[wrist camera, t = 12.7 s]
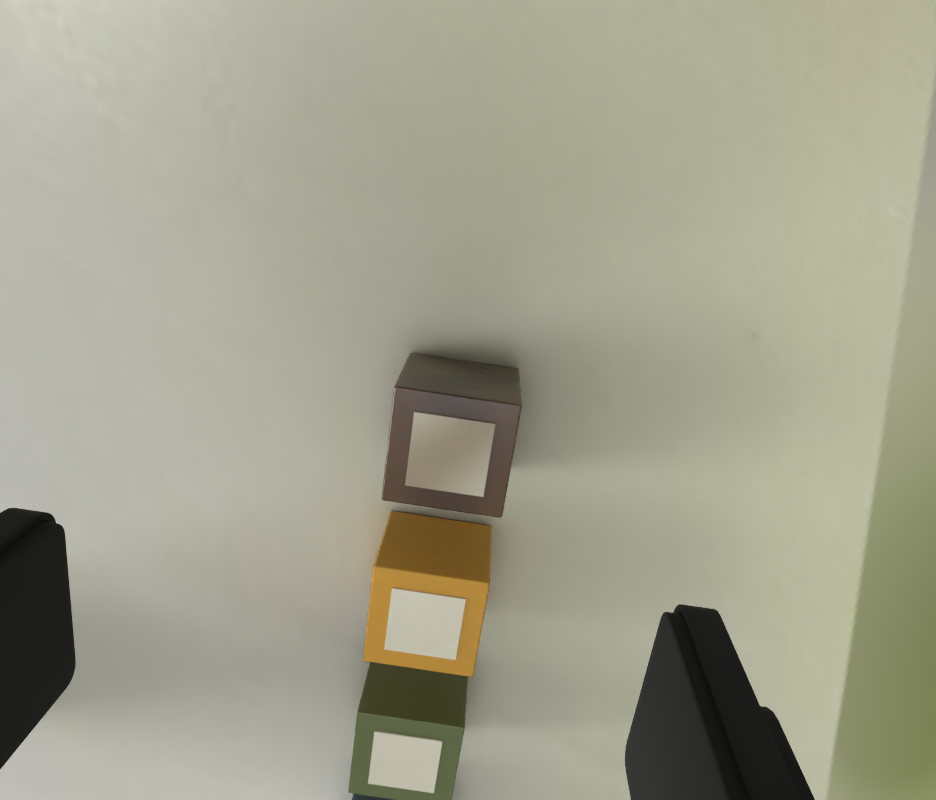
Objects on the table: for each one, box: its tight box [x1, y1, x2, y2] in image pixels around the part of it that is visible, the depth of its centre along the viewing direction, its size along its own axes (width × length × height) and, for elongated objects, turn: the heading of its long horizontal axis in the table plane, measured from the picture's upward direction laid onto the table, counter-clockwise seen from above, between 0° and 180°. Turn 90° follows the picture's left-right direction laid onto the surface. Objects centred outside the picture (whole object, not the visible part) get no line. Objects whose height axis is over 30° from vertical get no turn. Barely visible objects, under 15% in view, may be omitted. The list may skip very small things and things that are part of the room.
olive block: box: [348, 662, 468, 800], centre depth 36 cm, size 5×5×5 cm
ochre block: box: [363, 511, 491, 677], centre depth 33 cm, size 5×5×5 cm
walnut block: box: [382, 353, 522, 518], centre depth 30 cm, size 5×5×5 cm
